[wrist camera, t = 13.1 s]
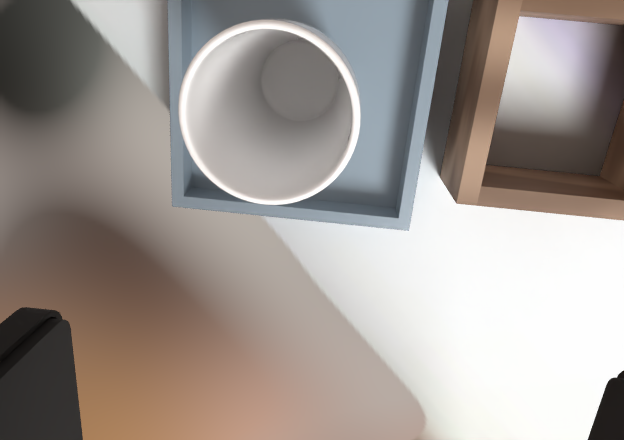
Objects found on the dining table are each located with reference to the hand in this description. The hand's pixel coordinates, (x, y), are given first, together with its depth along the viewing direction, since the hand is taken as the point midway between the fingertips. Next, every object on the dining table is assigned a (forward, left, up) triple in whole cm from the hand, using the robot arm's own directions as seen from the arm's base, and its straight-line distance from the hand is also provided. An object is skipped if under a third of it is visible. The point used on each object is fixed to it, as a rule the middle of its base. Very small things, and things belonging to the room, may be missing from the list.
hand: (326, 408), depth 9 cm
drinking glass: (+3, +3, -26) cm, 26 cm away
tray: (+3, +3, -27) cm, 27 cm away
